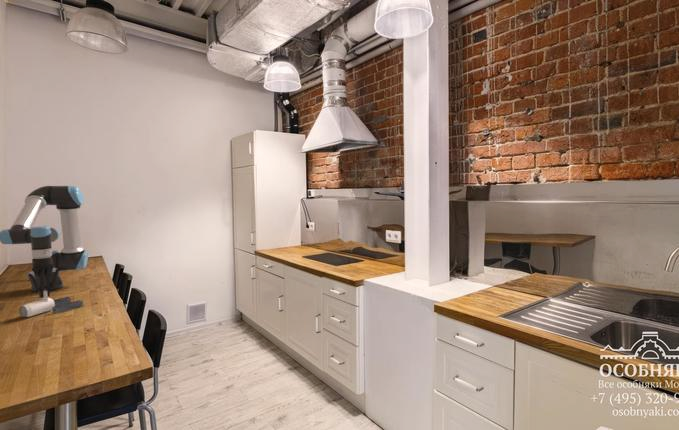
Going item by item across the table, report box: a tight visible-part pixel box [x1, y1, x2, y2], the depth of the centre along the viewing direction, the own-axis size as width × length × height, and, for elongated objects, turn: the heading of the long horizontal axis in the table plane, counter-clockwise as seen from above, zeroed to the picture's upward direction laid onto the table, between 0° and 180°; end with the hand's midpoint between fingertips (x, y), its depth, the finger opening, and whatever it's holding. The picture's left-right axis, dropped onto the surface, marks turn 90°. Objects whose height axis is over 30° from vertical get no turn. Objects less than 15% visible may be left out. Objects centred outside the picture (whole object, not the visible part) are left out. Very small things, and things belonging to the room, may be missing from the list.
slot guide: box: [51, 296, 84, 315], centre depth 174 cm, size 15×12×3 cm
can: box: [18, 297, 55, 318], centre depth 165 cm, size 6×6×12 cm
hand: (44, 303), depth 168 cm, fingers closed
